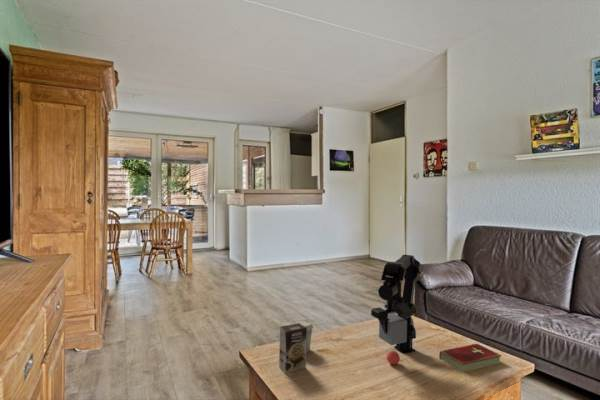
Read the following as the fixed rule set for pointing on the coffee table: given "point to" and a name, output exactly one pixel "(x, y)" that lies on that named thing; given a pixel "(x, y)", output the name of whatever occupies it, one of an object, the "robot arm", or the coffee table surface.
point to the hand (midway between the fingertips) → (393, 331)
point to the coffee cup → (309, 332)
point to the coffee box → (292, 347)
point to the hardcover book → (469, 357)
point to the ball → (393, 357)
